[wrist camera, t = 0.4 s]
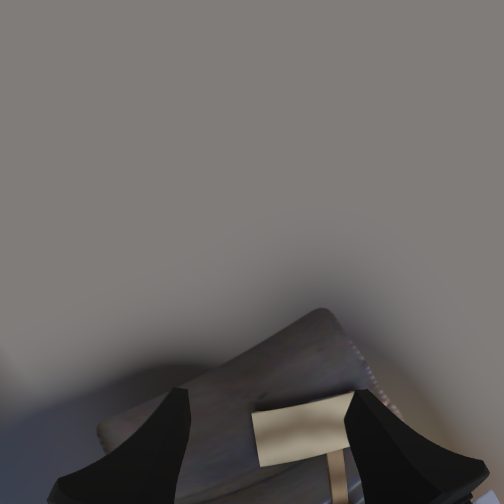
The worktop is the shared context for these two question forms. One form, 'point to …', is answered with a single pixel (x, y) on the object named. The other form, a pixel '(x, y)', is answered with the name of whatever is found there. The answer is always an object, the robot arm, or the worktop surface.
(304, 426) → the small wooden table
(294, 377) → the worktop surface
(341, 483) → the wooden mallet
